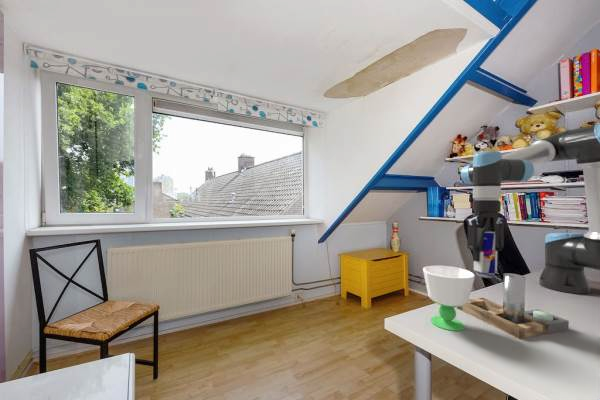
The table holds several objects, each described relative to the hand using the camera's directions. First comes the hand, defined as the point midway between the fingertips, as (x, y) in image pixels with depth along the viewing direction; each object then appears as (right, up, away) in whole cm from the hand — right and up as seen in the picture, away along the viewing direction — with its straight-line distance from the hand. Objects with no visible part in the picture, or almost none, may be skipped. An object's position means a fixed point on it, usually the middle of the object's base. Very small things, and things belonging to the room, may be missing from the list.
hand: (485, 270), depth 87 cm
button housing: (+12, -14, -7) cm, 20 cm away
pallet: (+1, -14, -4) cm, 15 cm away
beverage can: (0, -2, 0) cm, 2 cm away
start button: (+12, -13, -7) cm, 19 cm away
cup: (-16, -14, -7) cm, 23 cm away
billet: (+2, -14, -8) cm, 17 cm away
